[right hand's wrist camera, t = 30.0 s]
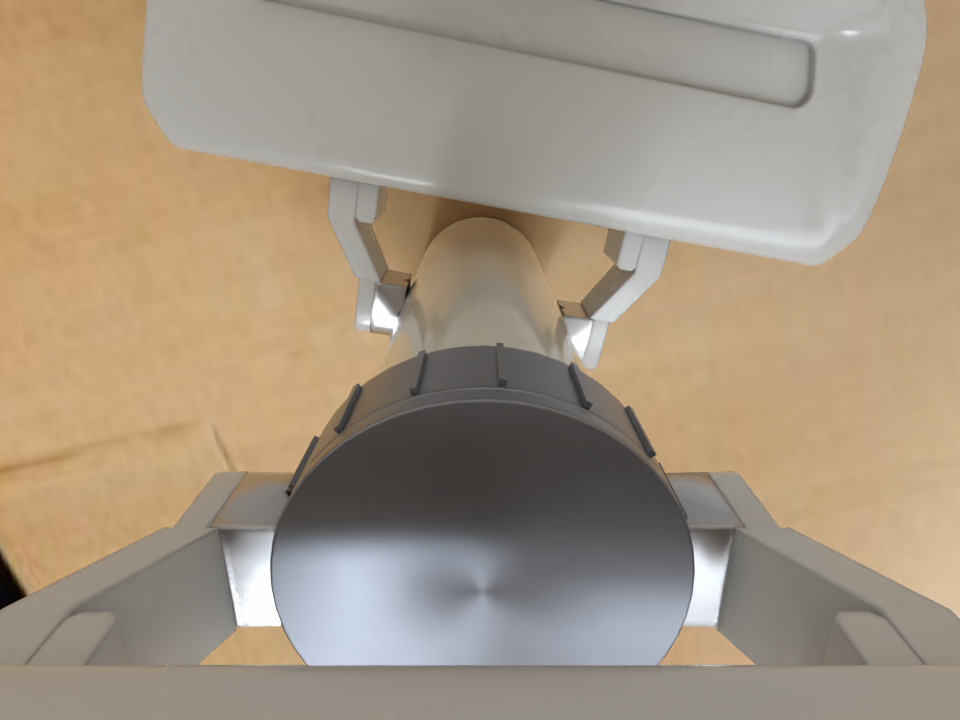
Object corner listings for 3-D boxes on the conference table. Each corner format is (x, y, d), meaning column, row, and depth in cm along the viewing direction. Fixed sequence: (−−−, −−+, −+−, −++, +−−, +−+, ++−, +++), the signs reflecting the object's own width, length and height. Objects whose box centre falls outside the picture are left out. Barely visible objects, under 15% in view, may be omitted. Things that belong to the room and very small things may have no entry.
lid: (711, 564, 11) (758, 656, 9) (420, 684, 12) (409, 788, 10) (563, 272, 9) (585, 312, 7) (232, 446, 10) (176, 520, 8)
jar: (538, 335, 26) (628, 661, 10) (422, 334, 26) (334, 660, 10) (542, 216, 24) (660, 393, 9) (418, 216, 24) (304, 392, 9)
